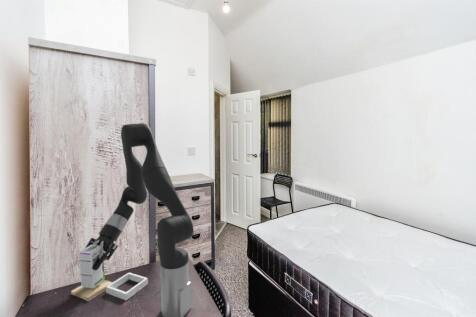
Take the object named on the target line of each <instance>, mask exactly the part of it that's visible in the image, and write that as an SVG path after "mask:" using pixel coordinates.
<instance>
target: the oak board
mask: <svg viewBox="0 0 476 317" xmlns="http://www.w3.org/2000/svg"><path fill="white" fill-rule="evenodd" d="M113 282H114V281H110V280H107V279H105V280H104V281H102V282H101V283H100V284H98V285H97V286H96V287H95V288H87V287H82V286H81V285H79V286H77V287H76V288H74V289H72V290H71V291H70V294H71V295H72V296H74V297H77V298H80V299H83V300H85V301H87V302H90V301H91V300H93V299H94V298H96V297H97V296H99V295H101V294H103V293H104V292H106V287H107V286H108V285H110V284H111V283H113Z"/></svg>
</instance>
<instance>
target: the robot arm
mask: <svg viewBox="0 0 476 317" xmlns="http://www.w3.org/2000/svg"><path fill="white" fill-rule="evenodd" d="M120 129H121V130H120V136H121V137H120V138H121V144H122V152H123V156H124V157H123V158H124V162H125V169H126V176H125V177H126V185H127V186H126V187H125V188H124V190H123V191H122V194H121V197H120V201H119V202H118V205H117V207H115V208H116V209H115V210H114V212H113V213H112V214H111V216H110V217H109V218H108V219H107V221H106V222H105V223H104V225H103V226H102V227H101V229H100V230H99V233H98V235H99V236H98V237H96V238H94V237H91V238H90V240H89V241H88V242H87V244H86V246H85V248H87V247H88V246H90V245H100V246H102V247H101V249H100V251H99V253H100V254H99V259H97V260H96V262H95V263H94V265H93V267H92V269H93V270H97V269H98V268H99V267H100V265H101V264H102V262H103V261H104V262H105V261H109V260H110V259H111V257H112V256H113V255H114V254H115V251H116V250H117V248H118V247H119V245H117V244H116V243H114V242H116V241H117V240H118V238H119V237H120V235H121V234H122V233H123V230H124V229H125V228H126V226H127V223H128V221H129V220H130V218H131V216H132V215H133V213H134V211H135V210H134V208H133V206H131V205H129V202H131V203H133V204H137V205H141V204H143V203H144V202H145V201H146V200H147V196H148V192H149V194H150V195H152V196H153V197H154V198H155V199H156V200H158V201H160V203H162V204H163V205H164V206H165V207H166V208H167V210H168V211H169V213H170V215H171V216H166V217H163V218H161V219H160V220H159V221H158V222H157V223H158V224H157V226H156V228H157V229H156V233H157V234H156V236H157V246H158V256H159V261H160V262H159V264H160V266H159V267H160V303H161V305H160V307H161V316H162V317H185V316H186V314H188V312H190V310H191V309H192V282H191V281H189V253H188V251H187V250H186V249H184V248H177V247H176V244H178V243H179V244H180V243H181V242H184V241H187V240H189V239H190V238H192V237H193V235H194V224H193V222H192V219H191V216H190V214H189V213H188V212H187V209H186V208H185V206H184V204H183V203H182V201H181V198H180V197H179V194H178V192H177V191H176V189H175V187H174V184H173V182H172V179H171V176H170V174H169V172H168V170H167V167H166V166H165V163H164V162H163V159H162V156H161V155H160V153H159V150H158V146H157V144H156V140H155V137H154V134H153V132H152V129H151V127H150V126H149V125H148V123H127V124H123V125H122V126H121V128H120ZM135 147H145V149H146V154H145V158H144V161H143V164H141V162H140V161H139V160H138V158H137V157H136V156H135V154H134V153H133V148H135ZM85 248H84V249H85Z"/></svg>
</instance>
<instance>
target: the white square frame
mask: <svg viewBox="0 0 476 317" xmlns="http://www.w3.org/2000/svg"><path fill="white" fill-rule="evenodd" d="M127 281H132V282H135V283H137V284H135V285H134V286H133V287H131V288H130V289H128V290H127V291H124V290H121V289H119V287H120V286H121V285H123V284H124V283H126V282H127ZM112 282H113V283H111V284H110V285H108V286H107V287H106V290H105V292H106V294H108V295H111V296H112V297H116V298H119V299H121V300H124V301H127V300H129V299H131V298H132V297H133V296H135V294H137V293H138V292H140V290H143V288H145V287H146V286H147V285H148V284H149V278H148V277H146V276H142V275H139V274H135V273H132V272H127V273H125V274H124V275H122V276H121V277H119V278H117V279H116V280H114V281H112Z"/></svg>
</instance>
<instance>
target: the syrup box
mask: <svg viewBox="0 0 476 317" xmlns="http://www.w3.org/2000/svg"><path fill="white" fill-rule="evenodd" d="M101 247H102V246H100V245H90V246H88V247H87V248H83V249H81V250H79V251H78V257H79V272H80V284H81V285H80V286H82V287H87V288H95V287H96V286H97V285H98V284H100V283H101V282H102V281H104V280H106V278H105V277H106V276H105V260H104V261H103V262H102V264H101V265H100V267H99V268H98V269H97V270H93V269H92V267H93V265H94V263H95V262H96V260H97V259H99V254H100V253H99V251H100V249H101Z"/></svg>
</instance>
